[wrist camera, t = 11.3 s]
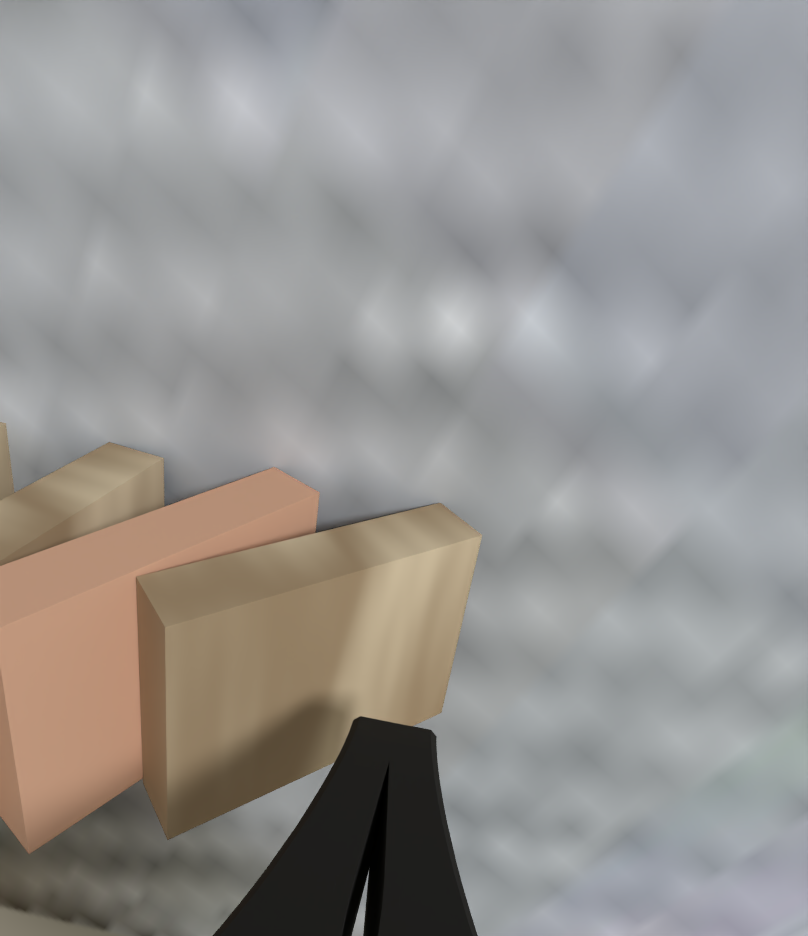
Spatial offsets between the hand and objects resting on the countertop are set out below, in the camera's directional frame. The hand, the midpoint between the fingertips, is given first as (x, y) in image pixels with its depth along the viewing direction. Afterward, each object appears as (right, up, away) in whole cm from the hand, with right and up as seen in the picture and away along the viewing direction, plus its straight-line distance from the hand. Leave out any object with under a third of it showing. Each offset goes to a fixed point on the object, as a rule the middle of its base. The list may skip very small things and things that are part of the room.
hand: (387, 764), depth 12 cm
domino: (-2, +3, +4) cm, 5 cm away
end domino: (+1, +2, +4) cm, 4 cm away
